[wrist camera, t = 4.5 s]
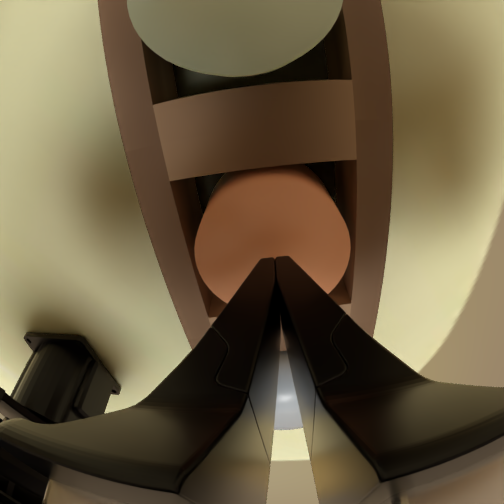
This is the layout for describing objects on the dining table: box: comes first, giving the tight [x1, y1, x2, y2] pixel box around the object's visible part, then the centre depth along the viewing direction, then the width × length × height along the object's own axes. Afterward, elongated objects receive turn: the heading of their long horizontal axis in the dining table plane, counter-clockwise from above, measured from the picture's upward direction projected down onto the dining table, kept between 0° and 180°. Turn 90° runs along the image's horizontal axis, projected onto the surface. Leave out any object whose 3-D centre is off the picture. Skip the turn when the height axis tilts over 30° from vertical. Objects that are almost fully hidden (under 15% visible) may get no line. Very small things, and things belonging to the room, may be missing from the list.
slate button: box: [274, 351, 303, 430], centre depth 14 cm, size 5×5×3 cm
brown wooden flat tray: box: [98, 0, 393, 351], centre depth 11 cm, size 8×24×3 cm, turn 8°
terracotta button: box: [194, 164, 351, 303], centre depth 11 cm, size 5×5×3 cm
